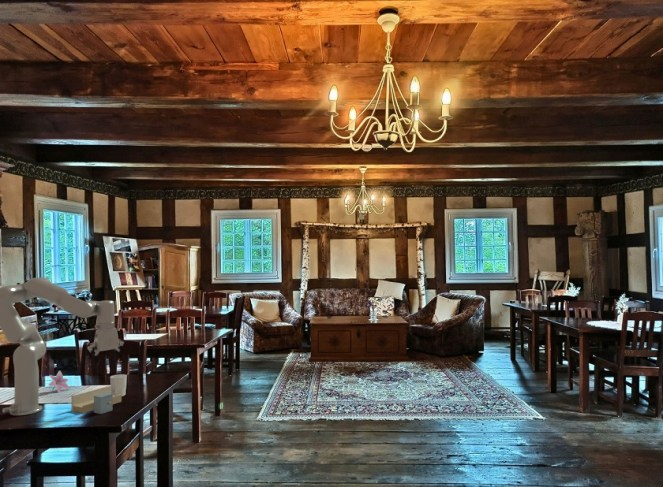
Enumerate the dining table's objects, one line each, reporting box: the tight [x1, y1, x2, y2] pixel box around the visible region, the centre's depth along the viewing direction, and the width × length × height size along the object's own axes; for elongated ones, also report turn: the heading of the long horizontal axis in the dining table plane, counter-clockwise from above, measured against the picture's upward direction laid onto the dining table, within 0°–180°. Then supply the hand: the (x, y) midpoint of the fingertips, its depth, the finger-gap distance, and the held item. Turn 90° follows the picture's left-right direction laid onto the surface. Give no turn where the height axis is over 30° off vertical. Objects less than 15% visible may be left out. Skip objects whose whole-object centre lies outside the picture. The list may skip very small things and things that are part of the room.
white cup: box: [109, 373, 128, 397], centre depth 243 cm, size 8×8×10 cm
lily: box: [48, 370, 71, 393], centre depth 255 cm, size 12×12×10 cm
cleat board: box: [70, 385, 122, 414], centre depth 225 cm, size 20×9×7 cm, turn 152°
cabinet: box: [93, 393, 114, 415], centre depth 217 cm, size 6×6×8 cm
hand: (106, 361), depth 226 cm, fingers open, 9 cm apart
